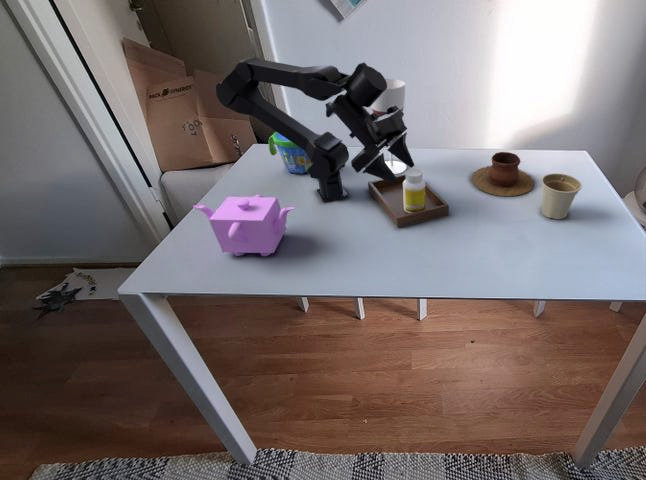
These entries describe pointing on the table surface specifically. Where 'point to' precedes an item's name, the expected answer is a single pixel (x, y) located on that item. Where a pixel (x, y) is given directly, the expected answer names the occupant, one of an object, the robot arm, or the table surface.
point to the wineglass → (380, 106)
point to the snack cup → (290, 154)
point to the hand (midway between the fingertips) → (405, 174)
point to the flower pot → (558, 194)
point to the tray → (394, 204)
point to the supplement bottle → (414, 191)
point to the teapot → (248, 224)
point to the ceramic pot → (503, 176)
